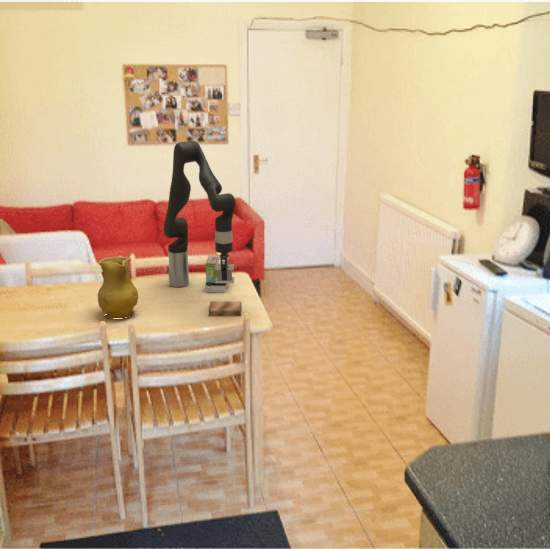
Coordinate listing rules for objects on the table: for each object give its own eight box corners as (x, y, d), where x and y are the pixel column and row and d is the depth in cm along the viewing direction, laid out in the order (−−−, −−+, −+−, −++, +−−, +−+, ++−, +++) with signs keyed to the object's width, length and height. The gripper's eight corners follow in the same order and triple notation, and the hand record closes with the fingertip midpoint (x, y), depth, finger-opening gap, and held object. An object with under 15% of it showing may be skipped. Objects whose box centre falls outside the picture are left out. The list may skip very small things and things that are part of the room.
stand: (208, 316, 293) (208, 310, 292) (210, 306, 304) (210, 300, 304) (240, 315, 293) (240, 310, 293) (241, 305, 305) (241, 300, 304)
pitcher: (96, 322, 285) (93, 265, 278) (100, 308, 303) (98, 254, 296) (138, 321, 288) (136, 264, 281) (139, 307, 306) (138, 253, 299)
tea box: (226, 293, 321) (226, 263, 316) (205, 292, 321) (204, 263, 317) (229, 282, 335) (228, 254, 331) (209, 282, 336) (208, 253, 331)
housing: (233, 283, 292) (233, 267, 290) (215, 283, 292) (214, 267, 290) (234, 279, 297) (233, 264, 295) (216, 279, 297) (215, 264, 295)
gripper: (215, 236, 296) (216, 273, 301) (214, 245, 282) (215, 283, 287) (233, 236, 296) (233, 273, 301) (232, 244, 282) (232, 283, 288)
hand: (224, 278), depth 294 cm, fingers closed on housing, 5 cm apart
